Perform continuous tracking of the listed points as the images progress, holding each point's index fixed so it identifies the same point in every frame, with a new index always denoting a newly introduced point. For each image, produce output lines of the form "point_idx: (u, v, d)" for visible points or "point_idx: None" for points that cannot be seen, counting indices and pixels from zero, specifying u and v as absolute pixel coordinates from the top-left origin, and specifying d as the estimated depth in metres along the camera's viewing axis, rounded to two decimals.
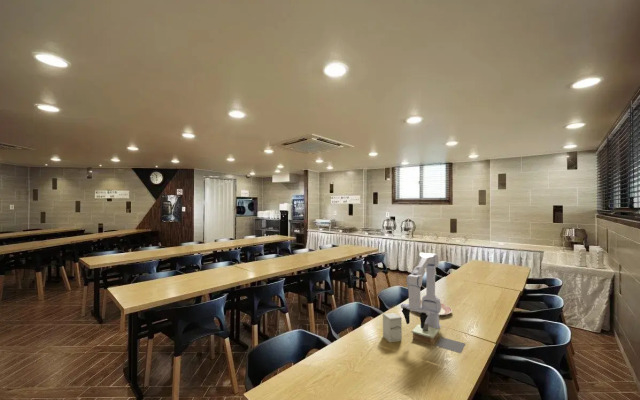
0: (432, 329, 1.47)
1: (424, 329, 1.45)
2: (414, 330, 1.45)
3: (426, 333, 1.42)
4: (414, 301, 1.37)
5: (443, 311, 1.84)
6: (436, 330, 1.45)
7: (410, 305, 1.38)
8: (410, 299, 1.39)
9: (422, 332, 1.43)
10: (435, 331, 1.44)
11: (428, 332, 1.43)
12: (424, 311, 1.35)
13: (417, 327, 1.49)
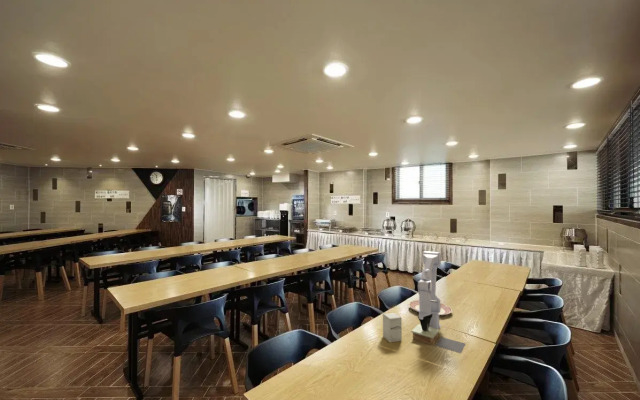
0: (432, 329, 1.47)
1: None
2: (414, 330, 1.45)
3: (426, 333, 1.42)
4: (419, 303, 1.47)
5: (443, 311, 1.84)
6: (436, 330, 1.45)
7: None
8: None
9: (422, 332, 1.43)
10: (435, 331, 1.44)
11: (428, 332, 1.43)
12: (419, 314, 1.43)
13: (417, 327, 1.49)
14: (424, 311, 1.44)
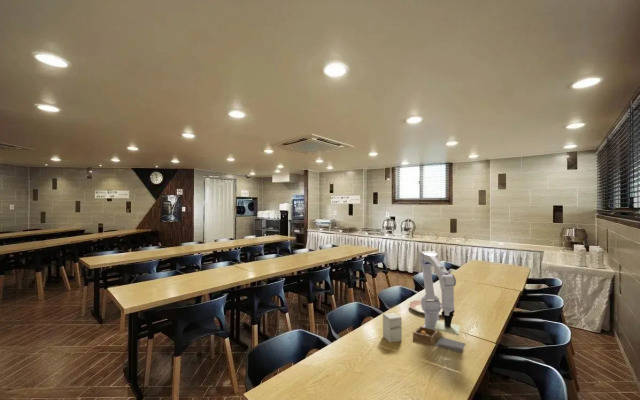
0: (453, 325, 1.41)
1: None
2: (437, 327, 1.38)
3: (450, 330, 1.36)
4: (442, 299, 1.41)
5: None
6: (458, 326, 1.40)
7: None
8: None
9: (445, 329, 1.37)
10: (457, 328, 1.39)
11: (452, 329, 1.37)
12: (444, 310, 1.36)
13: (438, 324, 1.43)
14: (448, 307, 1.37)
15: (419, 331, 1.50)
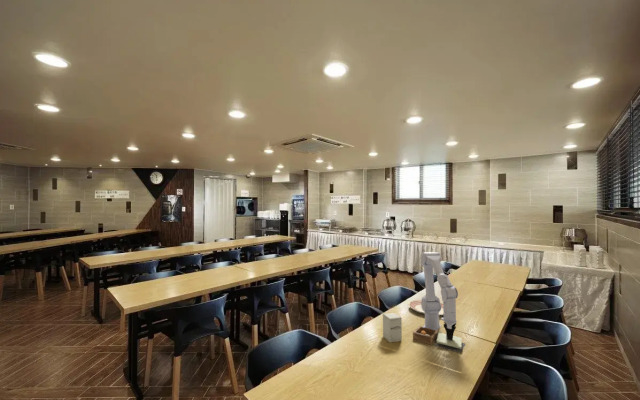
0: (455, 338, 1.41)
1: None
2: (439, 340, 1.38)
3: (452, 343, 1.35)
4: None
5: (443, 311, 1.84)
6: (459, 339, 1.40)
7: None
8: None
9: (447, 342, 1.36)
10: (459, 340, 1.38)
11: (454, 342, 1.36)
12: (446, 323, 1.35)
13: (439, 336, 1.42)
14: (450, 319, 1.37)
15: (419, 331, 1.50)
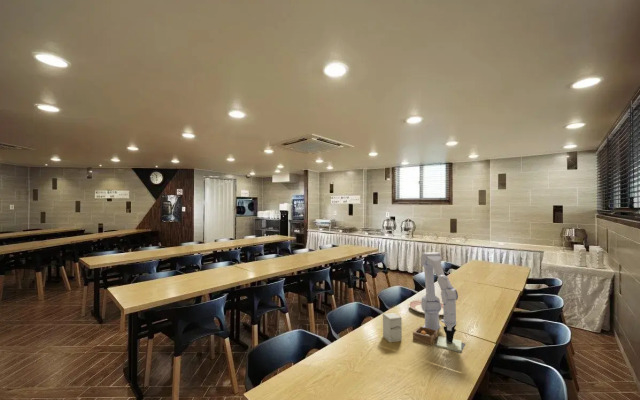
0: (455, 341, 1.41)
1: (449, 342, 1.38)
2: (439, 344, 1.38)
3: (452, 346, 1.35)
4: None
5: (443, 311, 1.84)
6: (459, 342, 1.40)
7: None
8: None
9: (447, 345, 1.36)
10: (459, 343, 1.38)
11: (454, 345, 1.36)
12: (446, 325, 1.35)
13: (439, 340, 1.42)
14: (450, 321, 1.37)
15: (419, 331, 1.50)
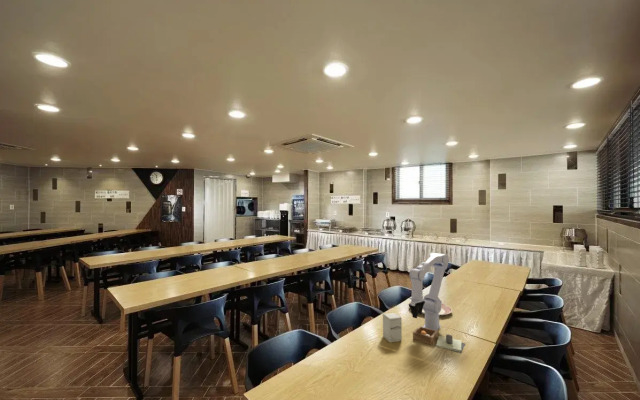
0: (455, 341, 1.41)
1: (449, 342, 1.38)
2: (439, 344, 1.38)
3: (452, 346, 1.35)
4: None
5: (443, 311, 1.84)
6: (459, 342, 1.40)
7: None
8: None
9: (447, 345, 1.36)
10: (459, 343, 1.38)
11: (454, 345, 1.36)
12: (411, 301, 1.48)
13: (439, 340, 1.42)
14: (416, 298, 1.49)
15: (419, 331, 1.50)
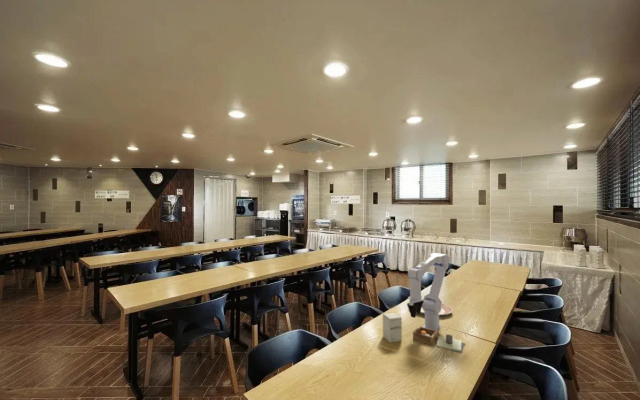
0: (455, 341, 1.41)
1: (449, 342, 1.38)
2: (439, 344, 1.38)
3: (452, 346, 1.35)
4: (410, 291, 1.53)
5: (443, 311, 1.84)
6: (459, 342, 1.40)
7: None
8: None
9: (447, 345, 1.36)
10: (459, 343, 1.38)
11: (454, 345, 1.36)
12: (409, 301, 1.49)
13: (439, 340, 1.42)
14: (414, 298, 1.50)
15: (419, 331, 1.50)
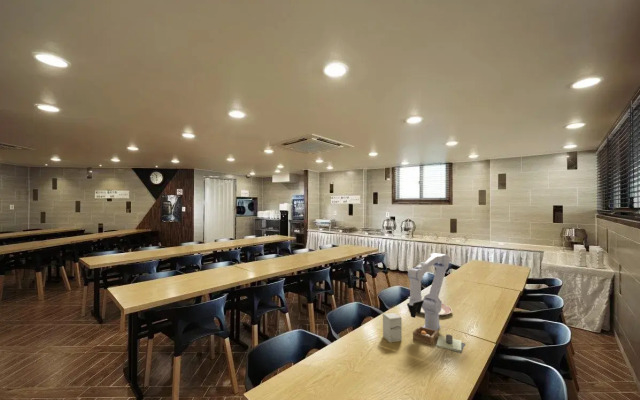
0: (455, 341, 1.41)
1: (449, 342, 1.38)
2: (439, 344, 1.38)
3: (452, 346, 1.35)
4: (410, 291, 1.53)
5: (443, 311, 1.84)
6: (459, 342, 1.40)
7: None
8: None
9: (447, 345, 1.36)
10: (459, 343, 1.38)
11: (454, 345, 1.36)
12: (409, 301, 1.49)
13: (439, 340, 1.42)
14: (414, 298, 1.50)
15: (419, 331, 1.50)
